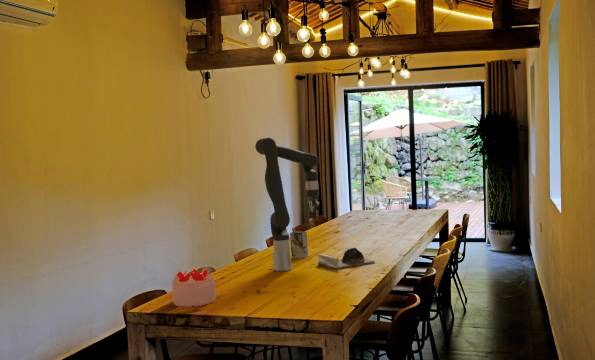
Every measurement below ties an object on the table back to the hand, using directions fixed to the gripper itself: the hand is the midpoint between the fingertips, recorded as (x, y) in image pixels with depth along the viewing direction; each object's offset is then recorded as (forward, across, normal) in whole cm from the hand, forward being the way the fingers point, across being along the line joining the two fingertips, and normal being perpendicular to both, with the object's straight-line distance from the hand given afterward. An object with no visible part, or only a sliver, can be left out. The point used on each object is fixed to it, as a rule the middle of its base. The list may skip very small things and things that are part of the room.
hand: (314, 217), depth 358 cm
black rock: (+27, +18, +14) cm, 35 cm away
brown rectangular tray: (+27, +17, +10) cm, 33 cm away
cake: (+27, +43, -87) cm, 101 cm away
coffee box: (+27, -24, 0) cm, 36 cm away
